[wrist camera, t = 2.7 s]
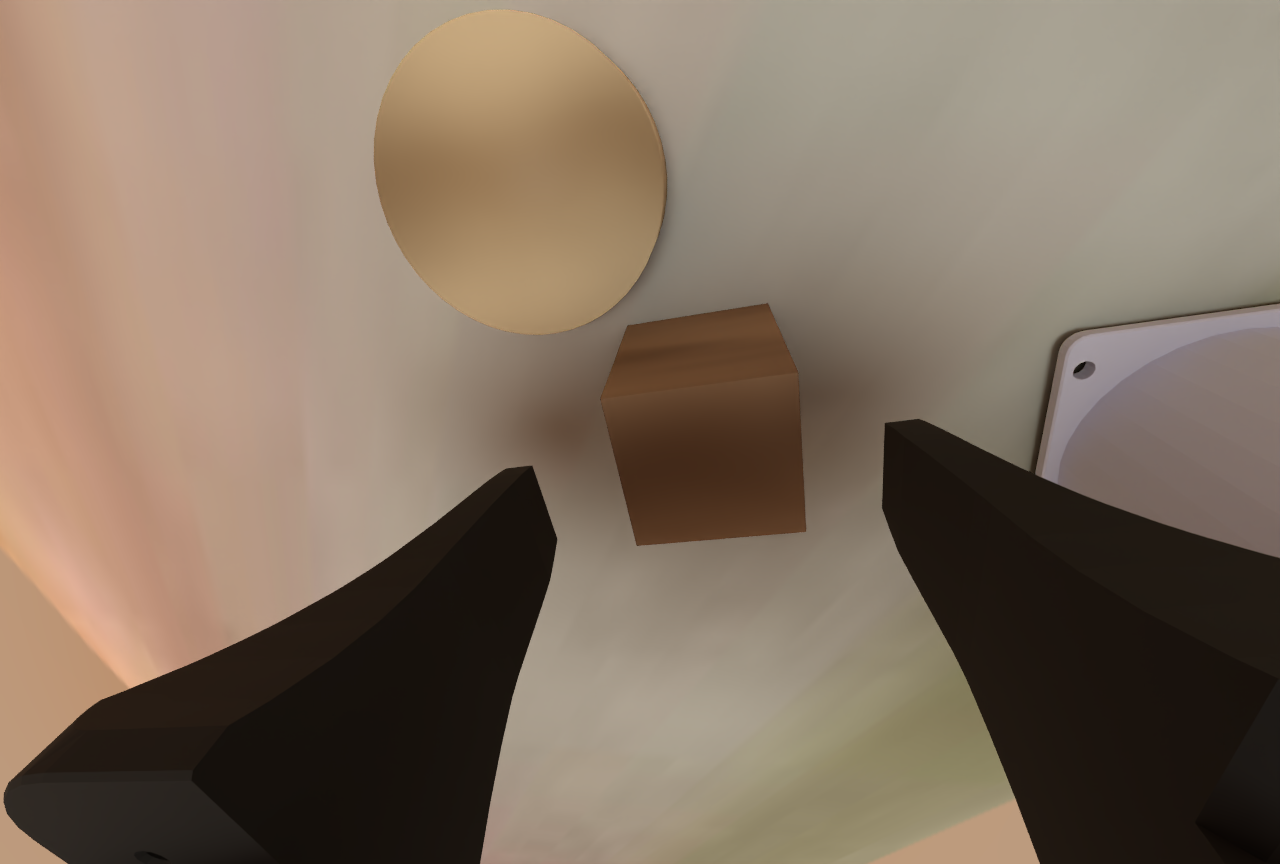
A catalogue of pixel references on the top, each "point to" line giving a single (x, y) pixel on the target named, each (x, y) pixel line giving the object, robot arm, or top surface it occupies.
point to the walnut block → (707, 427)
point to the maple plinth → (519, 171)
